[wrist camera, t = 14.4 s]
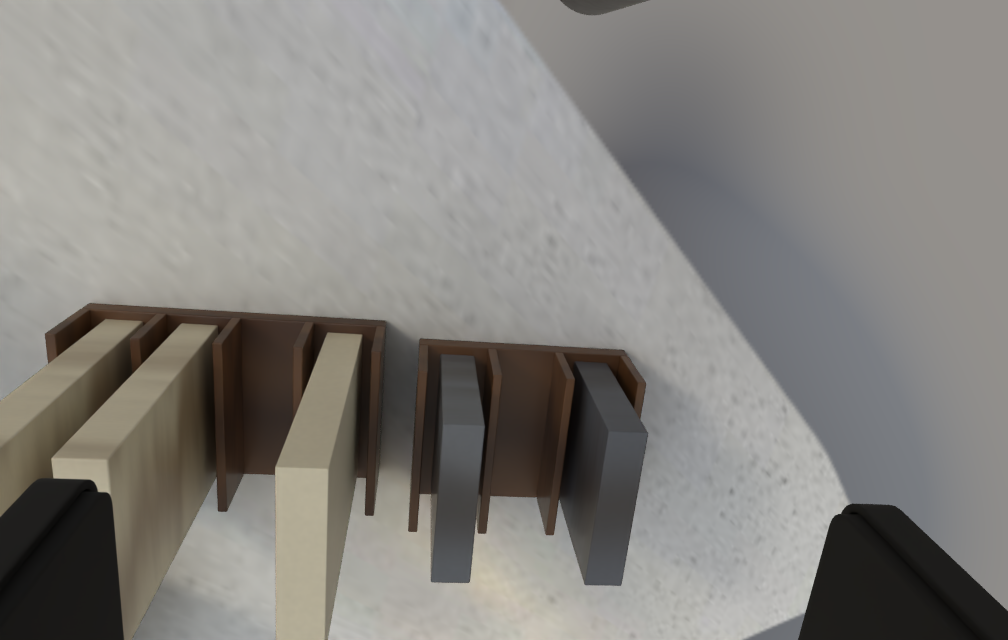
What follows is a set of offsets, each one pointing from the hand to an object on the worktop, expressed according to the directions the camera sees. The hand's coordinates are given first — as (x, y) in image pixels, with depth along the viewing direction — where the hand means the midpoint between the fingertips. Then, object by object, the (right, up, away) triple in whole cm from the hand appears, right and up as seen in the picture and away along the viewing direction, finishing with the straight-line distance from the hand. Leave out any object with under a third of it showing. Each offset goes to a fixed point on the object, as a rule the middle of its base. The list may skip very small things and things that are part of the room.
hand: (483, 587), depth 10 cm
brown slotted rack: (+1, -3, +36) cm, 37 cm away
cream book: (-9, -2, +34) cm, 35 cm away
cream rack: (-15, -1, +34) cm, 37 cm away
